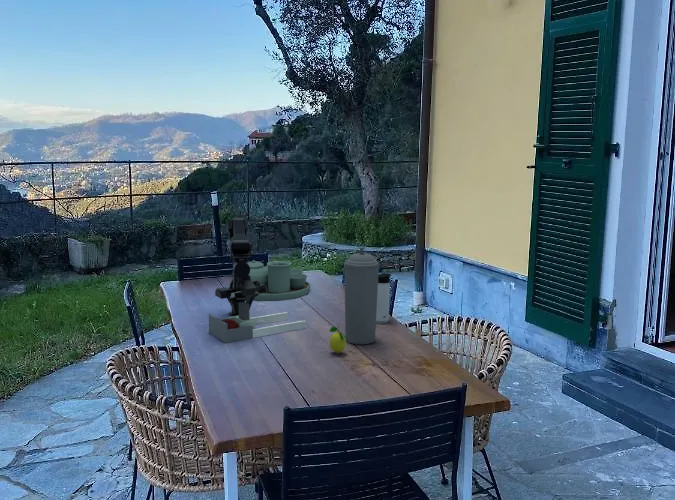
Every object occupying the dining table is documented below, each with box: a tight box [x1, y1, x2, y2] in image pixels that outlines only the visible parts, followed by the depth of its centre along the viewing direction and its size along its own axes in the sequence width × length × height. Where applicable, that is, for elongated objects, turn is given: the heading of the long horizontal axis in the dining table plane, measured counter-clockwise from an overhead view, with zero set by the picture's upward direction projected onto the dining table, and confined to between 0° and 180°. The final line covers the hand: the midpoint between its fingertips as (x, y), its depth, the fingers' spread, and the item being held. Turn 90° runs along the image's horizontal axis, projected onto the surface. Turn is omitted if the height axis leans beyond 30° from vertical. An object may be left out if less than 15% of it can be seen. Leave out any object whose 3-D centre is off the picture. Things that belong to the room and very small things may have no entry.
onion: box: [224, 319, 239, 330], centre depth 225 cm, size 6×6×8 cm
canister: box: [343, 246, 380, 345], centre depth 218 cm, size 13×13×35 cm
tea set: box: [228, 259, 311, 302], centre depth 294 cm, size 40×40×16 cm
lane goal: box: [208, 311, 307, 344], centre depth 231 cm, size 15×34×7 cm, turn 124°
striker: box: [228, 301, 264, 329], centre depth 228 cm, size 10×12×11 cm
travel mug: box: [376, 273, 392, 325], centre depth 244 cm, size 6×7×20 cm
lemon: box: [329, 325, 347, 355], centre depth 206 cm, size 7×6×10 cm
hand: (241, 312), depth 226 cm, fingers open, 5 cm apart
